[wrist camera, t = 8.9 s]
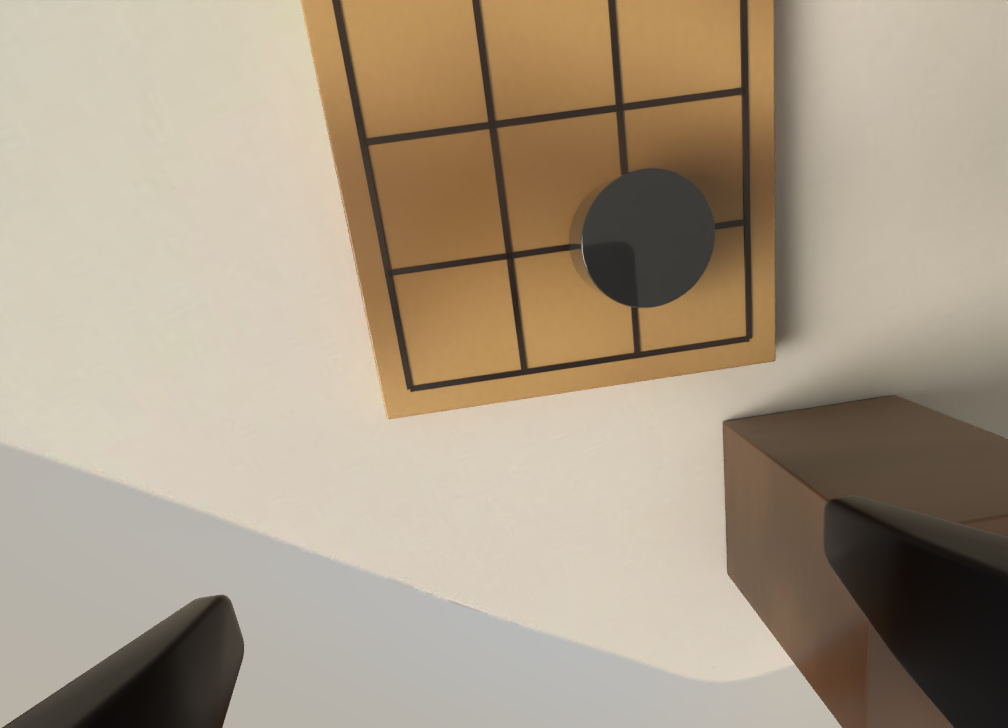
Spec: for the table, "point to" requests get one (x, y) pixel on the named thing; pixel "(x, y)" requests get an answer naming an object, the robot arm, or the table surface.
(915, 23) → the table surface
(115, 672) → the robot arm
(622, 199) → the game stone
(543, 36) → the board
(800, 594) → the stone stand
